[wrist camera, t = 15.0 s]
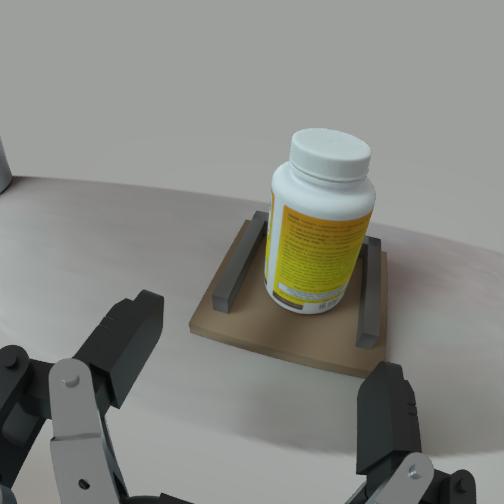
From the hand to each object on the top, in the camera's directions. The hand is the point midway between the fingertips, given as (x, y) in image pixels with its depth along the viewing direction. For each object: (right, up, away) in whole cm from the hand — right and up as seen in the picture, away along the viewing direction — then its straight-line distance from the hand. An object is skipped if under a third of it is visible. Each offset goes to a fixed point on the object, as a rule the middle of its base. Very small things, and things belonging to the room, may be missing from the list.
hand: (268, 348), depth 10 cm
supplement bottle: (+3, +1, +10) cm, 11 cm away
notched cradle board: (+3, 0, +11) cm, 12 cm away
